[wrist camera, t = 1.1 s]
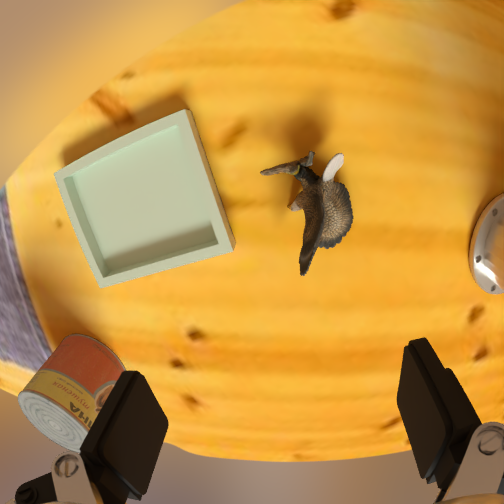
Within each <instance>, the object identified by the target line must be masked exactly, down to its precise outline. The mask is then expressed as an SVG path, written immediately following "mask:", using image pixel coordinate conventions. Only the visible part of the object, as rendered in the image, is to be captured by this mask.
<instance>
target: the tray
mask: <svg viewBox="0 0 504 504" xmlns="http://www.w3.org/2000/svg"><path fill="white" fill-rule="evenodd" d="M54 176H55V179H56V182H57V185H58V188H59V191H60V194H61V197H62V199H63V202H64V205H65V208H66V210H67V213H68V216H69V218H70V221H71V223H72V226H73V228H74V231H75V233H76V236H77V238H78V241H79V243H80V245H81V248H82V250H83V252H84V254H85V257H86V259H87V261H88V263H89V266H90V268H91V270H92V272H93V274H94V276H95V278H96V281H97V283H98V285H99V287H100V288H104V287H107V286H111V285H115V284H118V283H122V282H125V281H129V280H132V279H136V278H139V277H143V276H147V275H150V274H154V273H157V272H161V271H165V270H168V269H172V268H175V267H179V266H183V265H186V264H190V263H193V262H197V261H201V260H204V259H208V258H211V257H215V256H219V255H222V254H226V253H229V252H233V251H234V248H235V244H236V242H235V239H234V236H233V233H232V230H231V227H230V225H229V222H228V219H227V216H226V213H225V210H224V207H223V204H222V201H221V198H220V195H219V192H218V189H217V186H216V183H215V180H214V178H213V175H212V172H211V169H210V166H209V163H208V160H207V157H206V154H205V151H204V148H203V145H202V142H201V139H200V136H199V133H198V130H197V127H196V124H195V121H194V118H193V115H192V112H191V111H190V110H187V109H183V110H181V111H178V112H176V113H173V114H171V115H168V116H166V117H164V118H161V119H159V120H156V121H154V122H152V123H150V124H147V125H145V126H143V127H141V128H138V129H136V130H134V131H132V132H130V133H128V134H126V135H124V136H122V137H119V138H117V139H115V140H113V141H111V142H109V143H107V144H106V145H104V146H102V147H100V148H98V149H96V150H94V151H92V152H90V153H88V154H87V155H85V156H83V157H81V158H79V159H78V160H76V161H74V162H72V163H71V164H69V165H67V166H65V167H64V168H62V169H60V170H59V171H57V172H55V173H54Z"/></svg>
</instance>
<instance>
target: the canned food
mask: <svg viewBox="0 0 504 504" xmlns="http://www.w3.org/2000/svg"><path fill="white" fill-rule="evenodd" d="M123 371H126V369H125V367H124V365H123V364H122V362H121V361H120V359H119V358H118V357H117V356H116V355H115V354H114V353H113V352H112V351H111V350H110V349H109V348H108V347H107V346H105V345H104V344H102V343H101V342H99V341H97V340H96V339H94V338H91V337H89V336H86V335H82V334H72V335H69V336H67V337H65V338H64V339H63V341H62V343H61V344H60V345H59V346H58V347H57V349H56V350H55V351H54V352H53V353H52V355H51V356H50V357H49V358H48V359H47V361H46V362H45V363H44V364H43V365H42V367H41V368H40V369H39V370H38V372H37V373H36V374H35V375H34V377H33V378H32V379H31V380H30V382H29V383H28V384H27V385H26V387H25V388H24V389H23V391H21V392H20V393H19V395H18V402H19V405H20V407H21V409H22V411H23V413H24V414H25V416H26V417H27V418H28V420H29V421H30V422H31V423H32V424H33V425H34V426H35V427H36V428H37V429H38V430H39V431H40V432H41V433H43V434H44V435H45V436H46V437H48V438H49V439H50V440H52V441H53V442H55V443H56V444H58V445H60V446H62V447H64V448H66V449H68V450H70V451H73V452H76V453H80V452H81V451H80V450H79V449H80V447H81V445H82V443H83V441H84V439H85V437H86V435H87V434H88V432H89V430H90V428H91V426H92V424H93V422H94V421H95V419H96V417H97V415H98V413H99V412H100V410H101V408H102V406H103V404H104V403H105V401H106V399H107V397H108V396H109V394H110V392H111V390H112V389H113V387H114V385H115V383H116V382H117V380H118V378H119V376H120V375H121V373H122V372H123Z"/></svg>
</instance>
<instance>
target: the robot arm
mask: <svg viewBox="0 0 504 504" xmlns="http://www.w3.org/2000/svg"><path fill="white" fill-rule="evenodd" d="M469 262H470V270H471V273H472V276H473V278H474V280H475V282H476V283H477V284H478V285H479V286H480V288H482V289H483V290H484V291H485V292H487V293H490V294H501V293H504V193H502V194H500V195H499V196H497V197H495V198H494V199H493V200H492V201H491V202H490V203H489V204H488V206H487V207H486V208H485V209H484V211H483V212H482V214H481V216H480V218H479V219H478V222H477V224H476V226H475V229H474V232H473V236H472V239H471V245H470V252H469ZM397 405H398V408H399V411H400V414H401V417H402V420H403V423H404V426H405V429H406V432H407V435H408V438H409V441H410V444H411V447H412V450H413V454H414V457H415V460H416V463H417V467H418V470H419V473H420V476H421V478H422V479H424V478H426V480H427V484H430V483H432V482H437V485H438V488H440V491H439V492H438V495H437V496H436V499H435V500H434V502H433V504H504V425H503V424H501V423H498V422H488V423H484V424H482V423H481V421H480V419H479V417H478V415H477V414H476V412H475V410H474V408H473V406H472V404H471V402H470V401H469V399H468V397H467V395H466V393H465V392H464V390H463V388H462V386H461V385H460V383H459V381H458V379H457V378H456V376H455V374H454V373H453V371H452V370H451V369H450V368H446V369H445V368H444V367H443V365H442V363H441V361H440V360H439V358H438V356H437V355H436V353H435V351H434V350H433V348H432V346H431V345H430V343H429V342H428V340H427V339H426V338H425V337H424V338H420V339H416V340H411V341H410V342H409V344H408V346H405V347H404V353H403V361H402V368H401V375H400V381H399V387H398V393H397ZM167 429H168V419H167V417H166V415H165V414H164V412H163V410H162V408H161V407H160V405H159V403H158V401H157V399H156V398H155V396H154V394H153V392H152V390H151V388H150V386H149V384H148V383H147V381H146V379H145V377H144V376H143V375H141V374H140V372H138V371H123V372H122V373H121V375H120V376H119V378H118V380H117V382H116V383H115V385H114V387H113V389H112V390H111V392H110V394H109V396H108V397H107V399H106V401H105V403H104V404H103V406H102V408H101V410H100V412H99V413H98V415H97V417H96V419H95V421H94V422H93V424H92V426H91V428H90V430H89V432H88V434H87V435H86V437H85V439H84V441H83V443H82V445H81V447H80V449H79V450H80V451H81V452H80V454H78V453H76V452H73V451H67V452H63V453H61V454H59V455H58V456H57V457H56V458H55V459H54V461H53V462H52V466H51V472H50V473H48V474H45V475H43V476H41V477H38V478H36V479H34V480H31V481H28V482H26V483H24V484H22V485H21V486H20V487H19V488H18V489H17V491H16V495H15V500H13V499H11V500H10V501H8V502H7V503H5V504H126V500H127V498H130V499H135V500H139V501H140V500H141V497H142V495H144V494H146V492H147V489H148V486H149V483H150V480H151V477H152V474H153V471H154V468H155V465H156V462H157V459H158V456H159V452H160V450H161V446H162V444H163V441H164V438H165V435H166V432H167Z"/></svg>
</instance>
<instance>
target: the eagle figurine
mask: <svg viewBox="0 0 504 504" xmlns="http://www.w3.org/2000/svg"><path fill="white" fill-rule="evenodd" d="M314 154H315V152H312V151H310V152H309V155H308V156H306V157H304V158H301V159H300V160H299V161H294V162H290V163H285V164H281V165H278V166H275V167H272V168H269V169H265V170H263V171H261V172H260V173H261V174H262V175H272V174H278V173H280V172H285V173H287V174H291V175H294V176H295V177H296V179H297V180H299V181H300V182H301V184H302V186H303V191H301V192H300V193H299V194H298V195H297V197H296V199H295V201H294V202H293V203H292V204H291V205H288V206H287V207H288V208H289V209H291V211H298V210H300V209H303V210H304V213H305V229H304V233H303V246H302V248H301V252H300V257H299V264H300V275H301V276H302V275H303V276H304V275H305V274H306V272H307V271H308V269H309V266H310V264H311V261H312V259H313V256H314V254H315V252H316V250H317V248H318V246H319V247H320V248H322V247H325V248H326V249H328V248H329V247H331V248H333V247H335V245H336V243H340V242H341V240H342V236H343V237H345V236H346V233H347V232H348V231H349V230H350V228H351V224H352V222H353V220H352V219H353V215H352V214H353V212H352V208H351V201H350V199H349V198H350V196H349V192H348V191H347V188H345V185H344V184H342V183H338V182H336V183H335V181H334V175H335V173H336V171H337V170H338V169H339V168H340V167H341V166H342V164H343V162H344V161H343V156H344V155H343V154H342V153H338V154H336V155H335V156H334V157H333V158H332V159H331V160H330V161H329V162H328V164H327V166H326V168H325V170H324V173H323V175H322V176H321V177H319V176H317V175H316V174H315V173H314V172H313V171H312V169H310V168H309V167H306V166H311V165H312V164H313V163H312V160H313V157H314Z"/></svg>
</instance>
